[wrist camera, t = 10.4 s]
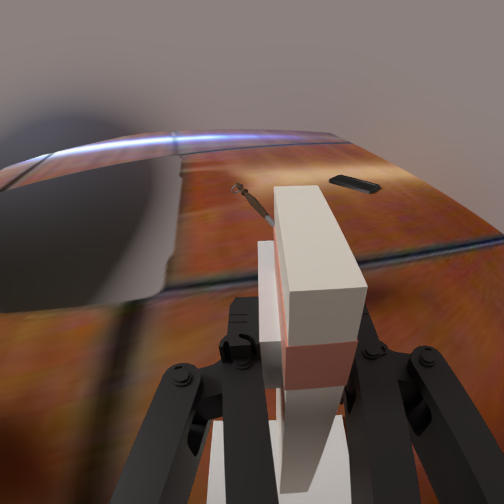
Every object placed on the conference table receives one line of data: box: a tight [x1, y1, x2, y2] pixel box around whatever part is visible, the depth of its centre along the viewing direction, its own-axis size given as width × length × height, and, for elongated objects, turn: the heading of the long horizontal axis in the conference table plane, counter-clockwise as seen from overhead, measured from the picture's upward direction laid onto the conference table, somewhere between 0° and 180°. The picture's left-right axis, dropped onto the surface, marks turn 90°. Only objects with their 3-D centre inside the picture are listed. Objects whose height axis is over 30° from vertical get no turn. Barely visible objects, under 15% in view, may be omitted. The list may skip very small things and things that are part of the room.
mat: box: [207, 415, 351, 504], centre depth 23 cm, size 18×14×1 cm
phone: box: [329, 175, 380, 194], centre depth 92 cm, size 8×1×15 cm
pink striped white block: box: [274, 185, 368, 494], centre depth 13 cm, size 6×2×15 cm, turn 0°
